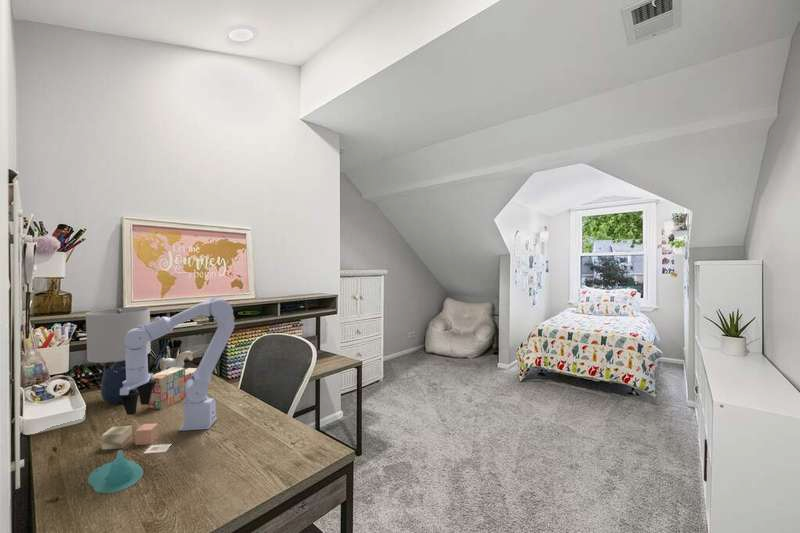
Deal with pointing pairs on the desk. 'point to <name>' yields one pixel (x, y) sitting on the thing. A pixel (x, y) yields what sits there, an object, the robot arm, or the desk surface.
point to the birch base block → (116, 437)
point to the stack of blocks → (169, 387)
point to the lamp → (113, 344)
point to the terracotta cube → (147, 434)
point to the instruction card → (157, 448)
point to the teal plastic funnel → (115, 475)
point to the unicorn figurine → (176, 360)
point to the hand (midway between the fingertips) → (138, 409)
